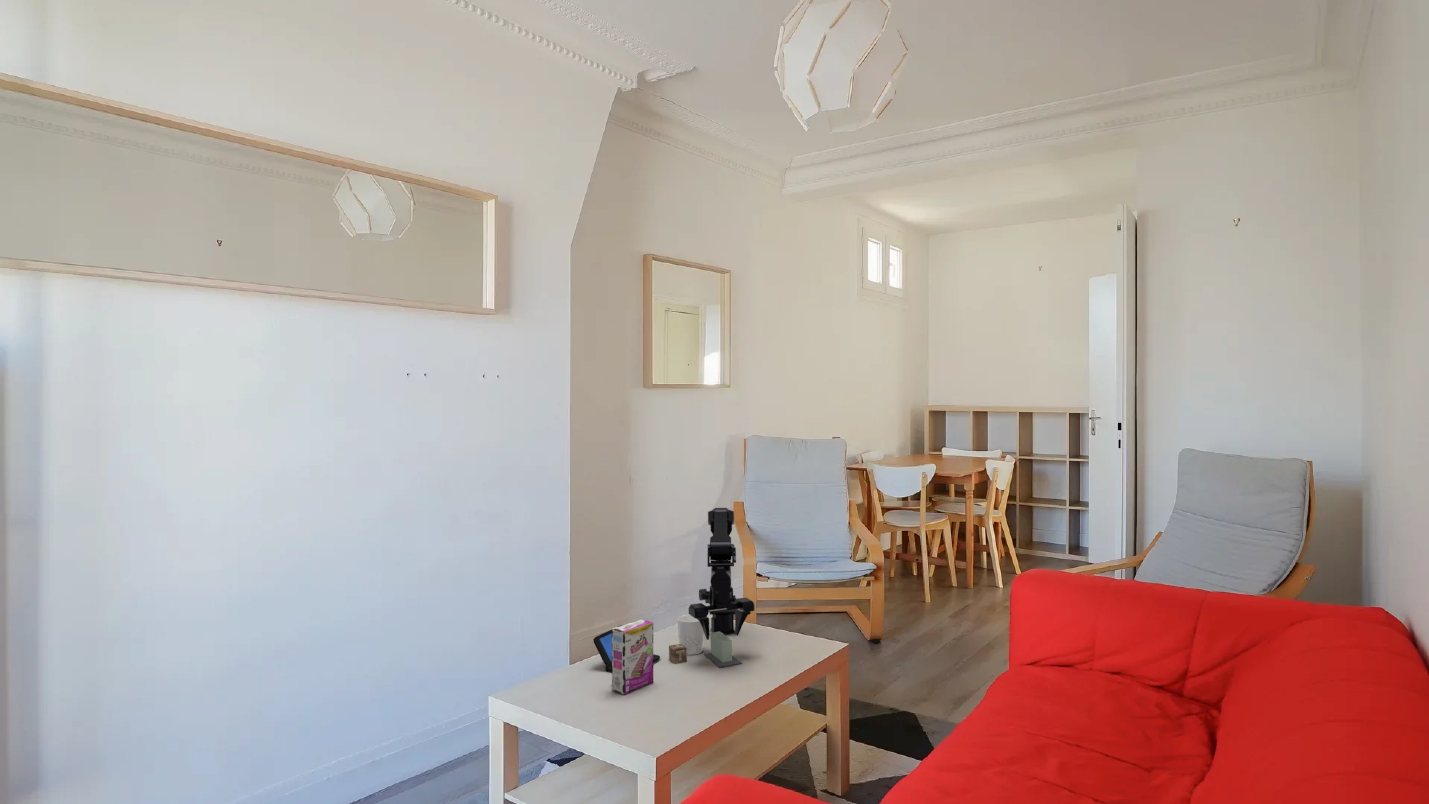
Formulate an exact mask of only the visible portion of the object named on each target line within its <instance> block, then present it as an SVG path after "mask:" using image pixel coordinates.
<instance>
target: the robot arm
mask: <svg viewBox="0 0 1429 804" xmlns="http://www.w3.org/2000/svg"><path fill="white" fill-rule="evenodd" d="M707 525H708V526H710V527H709V528H710V532H711V534H712V536H710V538H709V543H708V544H707V567H708V568H710V571H711V573H710V586H709V590H707V588H701V589H698V598H699V599H698V600H699V601H704V602H705V604H709V605H705V604H703V602H699V603H692V604H690V605H689V606H688V615H691V616H692V617H694V618H696V619H697V620H699V622H700V623H701V626H702V628H703V631H704V632H703V635H704V637H705V639H706V640H707V641H708V640H710V631H711V632H719V631H720V632H721V633H723V634H724V635H730V634H735V636H737V637H738V636H739V634H740V631H741V629H742V627H743V625H744V623H745V620H747V618H748V616H749V615H751V612H755V607H756V606H755V603H754V601H753V600H751V599H750V598H748V597H741V598H737V597H736V595H735V594H734V588H733V586H732V567H735V564H736V563H737V548H736V547H735V544H734V543H732V537H731V536H730V534H731V533H732V531H733V525H735V511H734V510H730V509H729V508H727V507H714V508H713V509H711V510H709V511H707ZM708 615H711V616H712V617H710V618H709V617H708ZM734 615H735V618H734ZM734 620H735V622H734ZM710 627H711V628H710Z"/></svg>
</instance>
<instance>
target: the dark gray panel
mask: <svg viewBox="0 0 1429 804" xmlns="http://www.w3.org/2000/svg"><path fill="white" fill-rule="evenodd" d="M703 656H704V657H706V659H708V660H709V661H710V662H712V663H713V664H714V665H715V666H716V667H718V668H719V669H722V668H723V669H724V668H729V667H733V666H735V667H736V666H740V665H743V662H742V661H741V660H740V659H738V657H735V656H734V655H733V654H732V661H728V662H721V661H720V660H719V659H718V658H716V657H715V656H714V655H713V654H711V651H710V652H706V653H703Z"/></svg>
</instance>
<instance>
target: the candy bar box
mask: <svg viewBox="0 0 1429 804" xmlns="http://www.w3.org/2000/svg"><path fill="white" fill-rule="evenodd" d="M621 625H622V626H620V625H619V627H618V626H616V627H613V628H611V630H612V672H611V690H612V692H614V693H615V692H616V693H619V694H621V695H627V694H629V693H632V692H634V691H636V690H638V689H642V688H643V687H645V686H648V685H651V684H653V683H654V664H653V654H654V622H652V621H649V620H646V619H645V620H644V619H638V620H636V621H632V622H630V623H629V622H628V623H626V624H621Z"/></svg>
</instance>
